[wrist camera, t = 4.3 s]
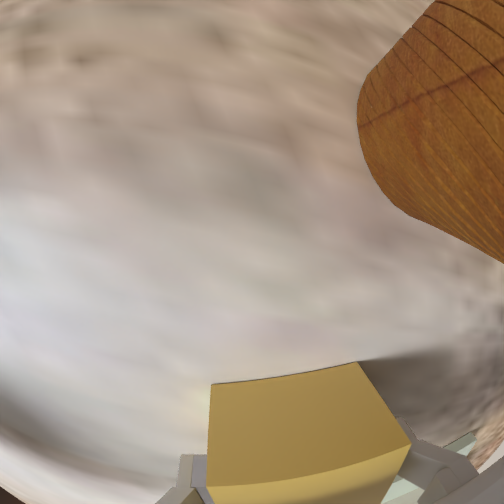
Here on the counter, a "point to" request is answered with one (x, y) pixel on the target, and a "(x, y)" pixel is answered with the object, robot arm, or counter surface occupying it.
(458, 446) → the plate
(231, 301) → the counter surface
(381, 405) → the mustard brick
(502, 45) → the disposable coffee cup
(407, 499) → the base brick
